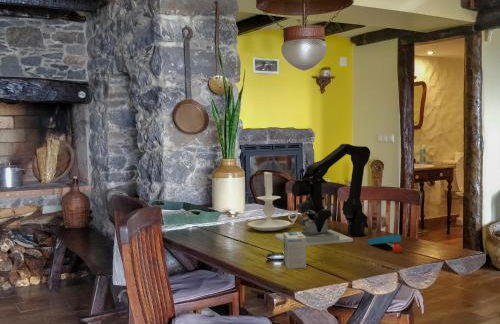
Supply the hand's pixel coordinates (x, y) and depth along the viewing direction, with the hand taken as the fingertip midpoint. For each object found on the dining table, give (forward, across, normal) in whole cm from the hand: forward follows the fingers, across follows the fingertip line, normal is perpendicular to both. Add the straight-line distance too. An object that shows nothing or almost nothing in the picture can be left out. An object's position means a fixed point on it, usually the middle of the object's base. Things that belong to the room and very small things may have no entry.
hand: (316, 231), depth 233 cm
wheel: (-1, -12, 0) cm, 12 cm away
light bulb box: (+4, +33, -23) cm, 41 cm away
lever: (+5, +23, +20) cm, 31 cm away
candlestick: (+5, -32, -8) cm, 33 cm away
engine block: (+1, 0, 0) cm, 1 cm away
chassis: (+4, -4, 0) cm, 6 cm away
